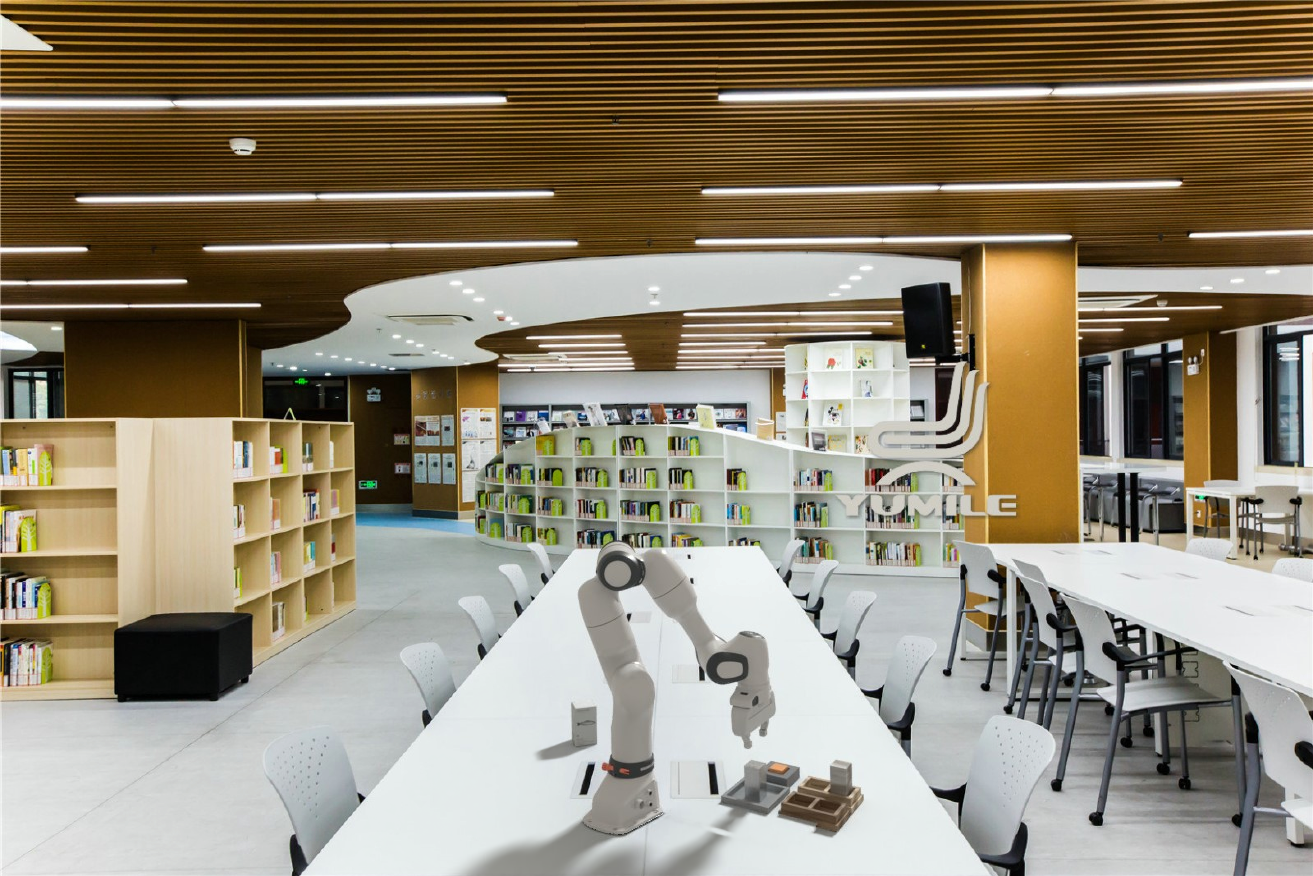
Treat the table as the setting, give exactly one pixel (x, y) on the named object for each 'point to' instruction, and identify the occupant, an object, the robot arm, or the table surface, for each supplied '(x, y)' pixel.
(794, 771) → the button console
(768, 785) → the tray
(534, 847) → the table surface
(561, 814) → the table surface
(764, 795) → the block
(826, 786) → the tray
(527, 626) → the table surface
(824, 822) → the pallet
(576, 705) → the supplement box
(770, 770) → the button
